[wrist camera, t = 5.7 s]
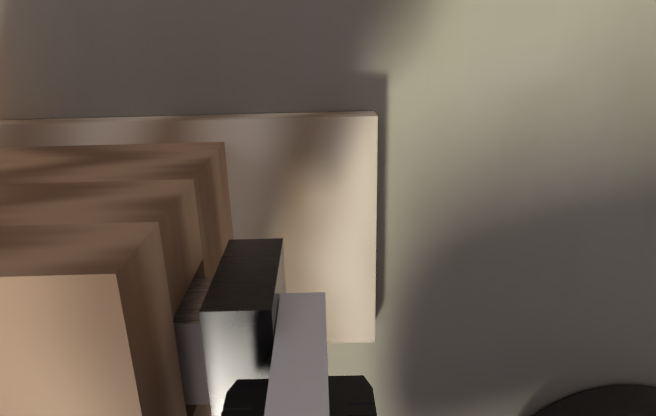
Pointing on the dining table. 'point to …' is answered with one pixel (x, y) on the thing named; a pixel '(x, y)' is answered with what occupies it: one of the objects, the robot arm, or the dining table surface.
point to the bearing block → (166, 243)
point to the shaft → (230, 321)
